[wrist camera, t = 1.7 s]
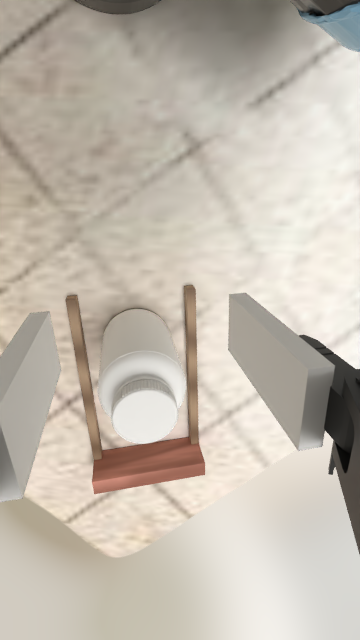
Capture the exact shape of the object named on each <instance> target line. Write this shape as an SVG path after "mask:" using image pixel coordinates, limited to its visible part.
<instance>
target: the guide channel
mask: <svg viewBox="0 0 360 640" xmlns="http://www.w3.org/2000/svg"><path fill="white" fill-rule="evenodd" d="M184 297H185V326H186V356H187V386H188V415H189V437H186V438H180V439H174V440H167V441H161V442H155V443H148V444H142V445H135V446H129V447H123V448H116V449H110V450H104V451H102V446H101V440H100V434H99V428H98V422H97V416H96V409H95V403H94V397H93V391H92V385H91V378H90V372H89V366H88V360H87V354H86V348H85V341H84V335H83V329H82V323H81V317H80V310H79V304H78V298H77V295H76V296H68V297H67V299H66V305H67V310H68V316H69V322H70V327H71V333H72V339H73V344H74V350H75V356H76V361H77V367H78V373H79V378H80V384H81V390H82V395H83V401H84V407H85V412H86V418H87V424H88V429H89V435H90V441H91V446H92V452H93V458H94V466H93V478H92V484H93V489H94V494H98V493H104V492H109V491H115V490H121V489H126V488H132V487H138V486H143V485H149V484H155V483H161V482H166V481H172V480H178V479H183V478H189V477H195V476H200V475H205V462H204V459H203V456H202V452H201V449H200V446H199V438H198V389H197V340H196V291H195V288H194V286H193V285H191V286H184Z"/></svg>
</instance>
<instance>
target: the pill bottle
mask: <svg viewBox="0 0 360 640" xmlns="http://www.w3.org/2000/svg"><path fill="white" fill-rule="evenodd" d="M185 392H186V379H185V375H184V372H183V369H182V366H181V363H180V360H179V357H178V355H177V352H176V349H175V346H174V343H173V340H172V337H171V334H170V331H169V329H168V327H167V325H166V324H165V322H164V321H163V320H162V319H161V318H160V317H159V316H158V315H156V314H155V313H153V312H151V311H148V310H144V309H131V310H127V311H124V312H122V313H120V314H118V315H117V316H115V317H114V318H113V319H112V320H111V321H110V322H109V324H108V325H107V327H106V329H105V332H104V335H103V341H102V350H101V360H100V370H99V380H98V397H99V401H100V403H101V406H102V408H103V409H104V411H105V412H106V414H107V415H108V416H109V417H110V418H111V421H112V426H113V428H114V429H115V431H116V433H117V434H118V435H119V436H120V437H122V438H123V439H125V440H127V441H129V442H132V443H137V444H147V443H152V442H156V441H158V440H160V439H162V438H164V437H165V436H167V435H168V434H169V433H170V432H171V431H172V429H173V428H174V427H175V425H176V422H177V420H178V409H179V408H180V406H181V404H182V402H183V400H184V396H185Z"/></svg>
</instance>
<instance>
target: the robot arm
mask: <svg viewBox="0 0 360 640" xmlns="http://www.w3.org/2000/svg"><path fill="white" fill-rule="evenodd" d="M76 1H77V2H79V3H81V4H83V5H85V6H87V7H89V8H92V9H95V10H98V11H101V12H106V13H112V14H128V13H134V12H138V11H141V10H144V9H147V8H149V7H151V6H153V5H155V4H156V3H158V2H159V1H161V0H76ZM290 1H291V2H292V3H293V4H294V5H295V6H296V8H297V10H298V12H299V14H300V16H301V17H302V18H303V19H304V20H306V21H308V22H310V23H313V24H317V25H319V26H320V27H321V28H322V29H323V30H325V31H326V32H327V33H328V34H329V35H331V36H332V37H333V38H334V39H335V40H336V41H338V42H339V43H340V44H341V45H343V46H344V47H346V48H348V49H350V50H353V51H357V52H360V0H290ZM228 350H229V351H230V353H231V354H232V356H233V357H234V359H235V360H236V362H237V363H238V364H239V366H240V367H241V369H242V370H243V372H244V373H245V375H246V376H247V377H248V379H249V380H250V382H251V383H252V385H253V386H254V388H255V389H256V390H257V392H258V393H259V395H260V396H261V398H262V399H263V401H264V402H265V403H266V405H267V406H268V408H269V409H270V411H271V412H272V414H273V415H274V416H275V418H276V419H277V421H278V422H279V424H280V425H281V427H282V428H283V430H284V431H285V432H286V434H287V435H288V437H289V438H290V440H291V441H292V443H293V444H294V445H295V447H296V448H297V450H299V451H300V450H306V449H312V448H318V447H322V445H323V437H324V432H325V430H326V432H327V433H328V434H329V435H330V436H331V437H332V438H333V440H334V441H333V447H332V453H331V458H330V464H329V474H331V475H332V474H333V470H334V468H335V467H336V470H337V473H338V477H339V481H340V484H341V488H342V492H343V495H344V499H345V502H346V506H347V510H348V513H349V517H350V521H351V524H352V528H353V531H354V535H355V539H356V543H357V546H358V550H359V554H360V369H355V368H353V367H352V366H351V365H349V364H348V363H347V362H345V361H344V360H343V359H341V358H340V357H339V356H338V355H336V354H334V352H332V351H331V350H330V349H328V348H326V346H324V345H323V344H322V343H320V342H319V341H318V340H316V339H313V338H311V337H308V336H306V335H299V336H298V335H297V334H296V333H294V332H293V331H292V330H291V329H289V328H288V327H287V326H286V325H285V324H283V323H282V322H281V321H280V320H278V319H277V318H276V317H275V316H273V315H272V314H271V313H270V312H269V311H267V310H266V309H265V308H264V307H262V306H261V305H260V304H259V303H258V302H256V301H255V300H254V299H253V298H251V297H250V296H249V295H248V294H246V293H239V294H229V339H228ZM60 372H61V366H60V361H59V356H58V351H57V346H56V341H55V336H54V331H53V326H52V321H51V316H50V311H47V312H37V313H30V314H29V315H28V317H27V318H26V320H25V321H24V323H23V324H22V325H21V327H20V328H19V330H18V331H17V333H16V334H15V336H14V337H13V339H12V340H11V342H10V343H9V345H8V346H7V347H6V349H5V350H4V352H3V353H2V355H1V356H0V502H4V501H10V500H16V499H22V498H23V495H24V492H25V489H26V485H27V482H28V479H29V475H30V472H31V469H32V465H33V462H34V459H35V455H36V452H37V449H38V445H39V442H40V439H41V435H42V432H43V429H44V425H45V422H46V419H47V415H48V412H49V409H50V405H51V402H52V399H53V395H54V392H55V389H56V385H57V382H58V379H59V375H60Z"/></svg>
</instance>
